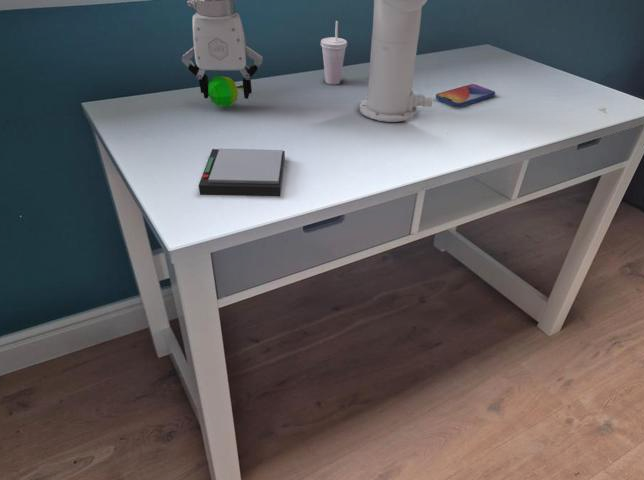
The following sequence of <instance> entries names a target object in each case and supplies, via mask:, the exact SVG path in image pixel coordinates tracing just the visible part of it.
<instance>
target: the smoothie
mask: <svg viewBox="0 0 644 480" xmlns="http://www.w3.org/2000/svg"><path fill="white" fill-rule="evenodd" d="M338 34H339V21H338V20H335V31H334V35H335V36H332V37H331V36H330V37H324V38H321V40H320V44H319V45H320V46H321V50H322V51H321V53H322V60H323V69H324V70H323V72H324V79H325V82H324V83H326V84H328V85H339V84H341V80H342V73H343V72H342V71H343V66H344V60H345V54H346V48H347V47H348V41H347V40H346V39H344V38H341V37H338V36H339V35H338Z"/></svg>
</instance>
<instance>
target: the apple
mask: <svg viewBox="0 0 644 480" xmlns="http://www.w3.org/2000/svg"><path fill="white" fill-rule="evenodd" d="M239 89H241V90H243V84H240V85H236V82H235V80H234V79H232V78H231V77H229V76H228V77H227V76H221V75H215V76H214V77H213V78H212V79H211V80H209V81H208V94H209V97H208V98H209V99H210V100H211V101H210V102H212V103H213V104H215V105H216V106H221V107H226V108H227V107H228V108H229V107H231V106H232V105H233V104H234V103H236V101H237V100H238V97H239V91H238V90H239ZM247 100H248V101H250V100H249V98H248V99H247Z"/></svg>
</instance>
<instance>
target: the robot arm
mask: <svg viewBox="0 0 644 480" xmlns="http://www.w3.org/2000/svg"><path fill="white" fill-rule="evenodd" d="M427 2H428V0H373V15H372V18H373V19H372V32H371V42H370V43H371V45H370V56H369V57H370V58H369V70H368V72H369V73H368V85H367V96H366V97H367V98H365V99H363V100H362V101H361V102H359V112H360V113H361V114H362V115H363V116H365V117H367V118H369V119H371V120H375V121H379V122H386V123H398V122H404V121H405V122H406V121H408V120H411V119H412V118H413V117H415V116H416V113H417V107H426V108H427V107H429V108H431V107H432V105H433V98H432V97H425V96H426V95H425V94H420V93H419V94H415V93H414V92H413V83H414V75H415V67H416V60H417V51H418V45H419V39H420V38H419V37H420V31H421V22H422V21H421V20H422V9H423V6H424V5H426V3H427ZM187 7H188V9H190V8H191V9H193V10H194V11H195V13H194V14H193V15H192V41H193V42H192V43H193V47H191V48H190V49H189V50H187V51H186V52H185V53H183V54H182V56H181V57H180V60H181V62H182V63H183V64H184V65H185V66H186V67H187V68H188V71H189V72H190V73H192V75H194V76H195V78H196V79H197V80H198V83H199V90H200V93H201V94H203V98H204V99H208V98H210V97H209V94H208V83H209V78H208V75H207V74H206V72H207V71H239V73H240V74H241V76H242V77H243V79H242V85H243V89H242V91H243V98H244V99H245V100H248V99H249V96H250V94H252V92H253V90H252V81H251V78H253V76H254V75H255V74H256V73H257V72H258V69H259V68H260V66H261V65H262V63H263V60H264V57H263V56H262V55H261V54H259V53H258V52H256V51H255V50H253V49H252V48H250V47H249V46H248V45H247V43H246V38H245V31H244V26H243V23H242V19H241V16H240V13H238V12H237V10H236V1H235V0H187ZM193 57H194V60H195V63H194V62H193V61H192V58H193ZM248 57H249V58H250V59H252V60H253V61H254V62H253V64H252V65H251V66H250V67H249V66H248V65H247V62H248Z"/></svg>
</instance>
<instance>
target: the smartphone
mask: <svg viewBox="0 0 644 480" xmlns="http://www.w3.org/2000/svg"><path fill="white" fill-rule="evenodd" d="M495 95H496V91H495V90H492V89H489V88H487V87H485V86H484V87H483V86H481V85H478V84H475V83H469V84H466V85H463V86H460V87H456V88H453V89H449V90H445V91H441V92H438V93H436V94H435V99H436V100H437V101H440V102H442V103H445V104H448V105H451V106H453V107H458V108H460V107H464V106H467V105H471V104H474V103H476V102H479V101H483V100H486V99H489V98H493V97H495Z"/></svg>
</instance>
